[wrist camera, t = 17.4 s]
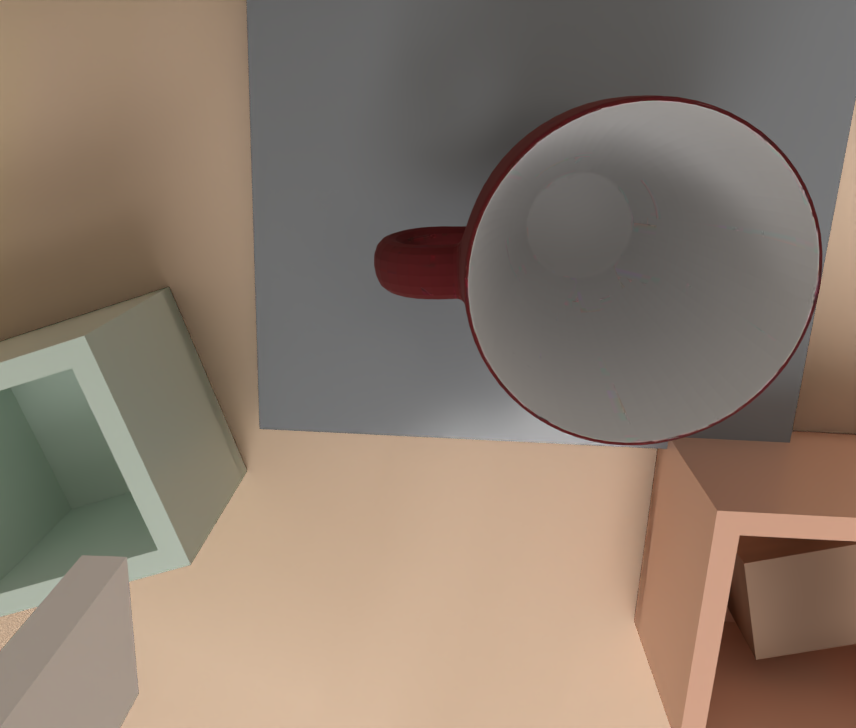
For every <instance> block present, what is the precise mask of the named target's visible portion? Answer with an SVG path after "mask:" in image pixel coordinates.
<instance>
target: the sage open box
mask: <svg viewBox="0 0 856 728" xmlns="http://www.w3.org/2000/svg"><path fill="white" fill-rule="evenodd" d="M246 472H247V469H246V467H245V465H244V462H243V460H242V458H241V455H240V453H239V451H238V448H237V446H236V443H235V441H234V439H233V436H232V434H231V432H230V429H229V427H228V425H227V422H226V420H225V417H224V415H223V413H222V410H221V408H220V406H219V403H218V401H217V399H216V396H215V394H214V392H213V389H212V387H211V384H210V382H209V380H208V377H207V375H206V373H205V370H204V368H203V366H202V363H201V361H200V359H199V356H198V354H197V351H196V349H195V347H194V344H193V342H192V340H191V337H190V335H189V333H188V330H187V328H186V326H185V323H184V321H183V318H182V316H181V314H180V311H179V309H178V307H177V304H176V302H175V300H174V297H173V295H172V293H171V290H170V288H169V287H167V288H163V289H160V290H157V291H154V292H151V293H148V294H145V295H142V296H139V297H136V298H133V299H130V300H126V301H123V302H120V303H117V304H114V305H111V306H108V307H105V308H102V309H99V310H96V311H93V312H89V313H86V314H83V315H80V316H77V317H74V318H71V319H68V320H65V321H62V322H59V323H55V324H52V325H49V326H46V327H43V328H40V329H37V330H34V331H31V332H28V333H25V334H22V335H18V336H15V337H12V338H9V339H6V340H3V341H0V617H2V616H5V615H9V614H13V613H16V612H20V611H24V610H27V609H31V608H34V607H38V606H39V605H40V604H41V603H42V601H43V600H44V599H45V598H46V597H47V595H48V594H49V593H50V592H51V591H52V590H53V588H54V587H55V586H56V585H57V584H58V583H59V581H60V580H61V579H62V578H63V577H64V576H65V574H66V573H67V572H68V571H69V570H70V569H71V567H72V566H73V565H74V564H75V563H76V562H77V560H78V559H79V558H80V557H81V556H82V555H89V556H116V557H127V564H128V575H129V582H130V581H133V580H137V579H141V578H144V577H148V576H152V575H155V574H159V573H163V572H166V571H170V570H174V569H177V568H181V567H185V566H188V565H191V563H192V562H193V560H194V559H195V557H196V555H197V554H198V552H199V550H200V549H201V547H202V545H203V544H204V542H205V540H206V539H207V537H208V535H209V534H210V532H211V530H212V529H213V527H214V525H215V524H216V522H217V520H218V519H219V517H220V515H221V514H222V512H223V510H224V509H225V507H226V505H227V504H228V502H229V501H230V499H231V497H232V496H233V494H234V492H235V491H236V489H237V487H238V486H239V484H240V482H241V481H242V479H243V477H244V476H245V474H246Z"/></svg>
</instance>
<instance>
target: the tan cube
mask: <svg viewBox="0 0 856 728" xmlns="http://www.w3.org/2000/svg"><path fill="white" fill-rule="evenodd" d="M727 607H728V609H729V611H730V613H731V615H732V617H733V618H734V620H735V622H736V624H737V626H738V628H739V629H740V631H741V633H742V635H743V637H744V639H745V640H746V642H747V644H748V646H749V648H750V650H751V651H752V653H753V655H754V657H755V659H756V660H758V659H764V658H771V657H777V656H783V655H790V654H796V653H802V652H808V651H815V650H821V649H827V648H833V647H840V646H846V645H852V644H856V541H839V540H820V539H801V538H781V537H762V536H743V535H740V536H739V542H738V547H737V553H736V559H735V564H734V570H733V576H732V581H731V587H730V593H729V598H728V604H727Z"/></svg>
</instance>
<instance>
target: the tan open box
mask: <svg viewBox="0 0 856 728" xmlns="http://www.w3.org/2000/svg"><path fill="white" fill-rule="evenodd" d="M740 535H743V536H762V537H781V538H801V539H820V540H839V541H856V434H840V433H820V432H799V431H792V434H791V439H790V443H787V442H766V441H746V440H725V439H705V438H680V439H677V440H673V441H668V446H667V449H658V450H657V458H656V465H655V472H654V480H653V487H652V494H651V502H650V509H649V516H648V524H647V531H646V538H645V546H644V553H643V560H642V568H641V575H640V582H639V590H638V597H637V604H636V612H635V619H634V622H635V625H636V628H637V631H638V634H639V637H640V640H641V643H642V646H643V648H644V651H645V654H646V657H647V660H648V663H649V666H650V669H651V672H652V674H653V677H654V680H655V683H656V686H657V689H658V692H659V695H660V698H661V701H662V703H663V706H664V709H665V712H666V715H667V718H668V721H669V724H670V727H671V728H856V644H852V645H846V646H840V647H833V648H827V649H821V650H815V651H808V652H802V653H796V654H790V655H783V656H777V657H771V658H764V659H758V660H756V659H755V657H754V655H753V653H752V651H751V650H750V648H749V646H748V644H747V642H746V640H745V639H744V637H743V635H742V633H741V631H740V629H739V628H738V626H737V624H736V622H735V620H734V618H733V617H732V615H731V613H730V611H729V609H728V607H727V604H728V598H729V593H730V587H731V581H732V576H733V570H734V564H735V559H736V553H737V547H738V542H739V536H740Z"/></svg>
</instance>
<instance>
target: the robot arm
mask: <svg viewBox="0 0 856 728" xmlns="http://www.w3.org/2000/svg"><path fill="white" fill-rule="evenodd" d="M138 694H139V690H138V679H137V667H136V656H135V644H134V633H133V621H132V610H131V598H130V587H129V575H128V564H127V557H116V556H89V555H82V556H81V557H80V558H79V559H78V560H77V562H76V563H75V564H74V565H73V566H72V567H71V569H70V570H69V571H68V572H67V573H66V574H65V576H64V577H63V578H62V579H61V580H60V581H59V583H58V584H57V585H56V586H55V587H54V588H53V590H52V591H51V592H50V593H49V594H48V595H47V597H46V598H45V599H44V600H43V601H42V603H41V604H40V605H39V606H38V607H37V608H36V610H35V611H34V612H33V613H32V614H31V615H30V617H29V618H28V619H27V620H26V621H25V622H24V624H23V625H22V626H21V627H20V628H19V629H18V631H17V632H16V633H15V634H14V635H13V636H12V638H11V639H10V640H9V641H8V642H7V643H6V645H5V646H4V647H3V648H2V649H1V650H0V728H120V727H121V725H122V723H123V722H124V720H125V718H126V716H127V714H128V712H129V710H130V709H131V707H132V705H133V703H134V701H135V699H136V698H137V696H138Z"/></svg>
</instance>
